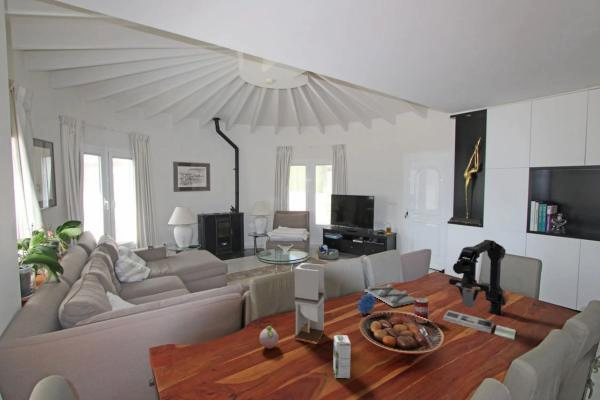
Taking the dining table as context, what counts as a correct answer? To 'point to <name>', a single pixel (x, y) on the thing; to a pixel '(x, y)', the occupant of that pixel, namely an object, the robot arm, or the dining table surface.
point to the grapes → (366, 303)
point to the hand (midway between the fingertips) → (468, 299)
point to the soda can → (421, 307)
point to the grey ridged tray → (391, 295)
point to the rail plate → (478, 322)
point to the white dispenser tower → (309, 301)
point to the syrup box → (341, 356)
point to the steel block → (468, 298)
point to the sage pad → (505, 332)
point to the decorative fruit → (268, 337)
